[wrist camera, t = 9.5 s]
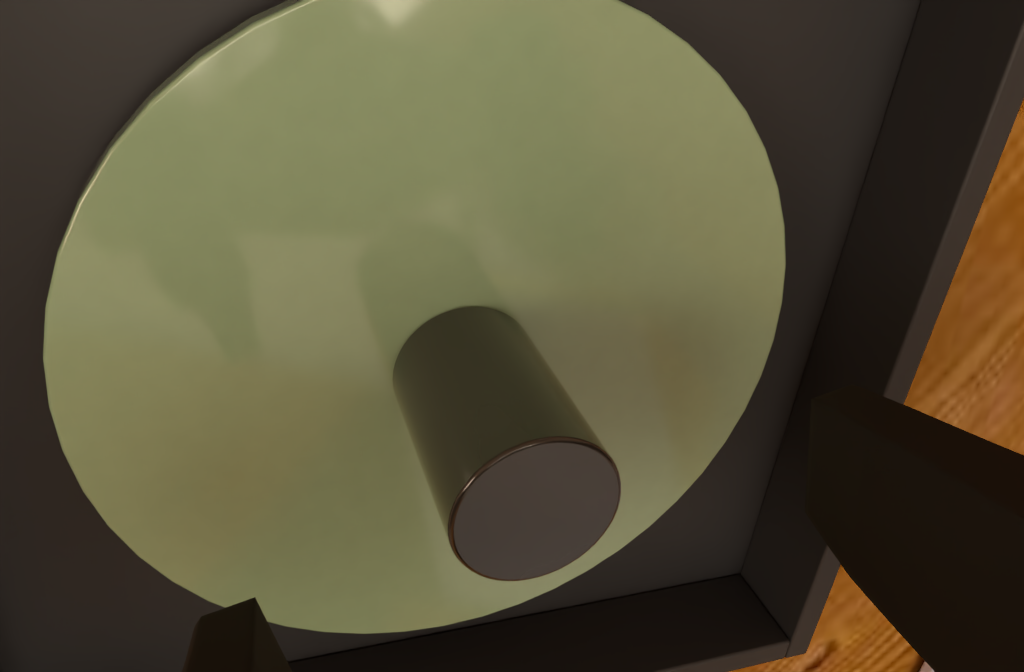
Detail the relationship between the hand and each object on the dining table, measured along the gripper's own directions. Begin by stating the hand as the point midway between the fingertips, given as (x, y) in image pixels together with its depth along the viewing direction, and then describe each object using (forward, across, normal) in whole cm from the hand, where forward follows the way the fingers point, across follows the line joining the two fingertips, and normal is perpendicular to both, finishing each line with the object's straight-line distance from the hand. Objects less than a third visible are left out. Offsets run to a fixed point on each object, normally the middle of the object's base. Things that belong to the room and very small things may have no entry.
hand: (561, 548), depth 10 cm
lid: (+5, 0, 0) cm, 5 cm away
